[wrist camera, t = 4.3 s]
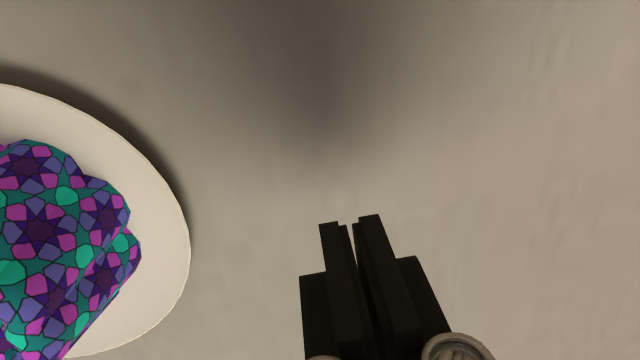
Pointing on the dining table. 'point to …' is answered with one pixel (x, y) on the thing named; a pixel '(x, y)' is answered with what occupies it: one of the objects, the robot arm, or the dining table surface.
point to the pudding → (80, 234)
